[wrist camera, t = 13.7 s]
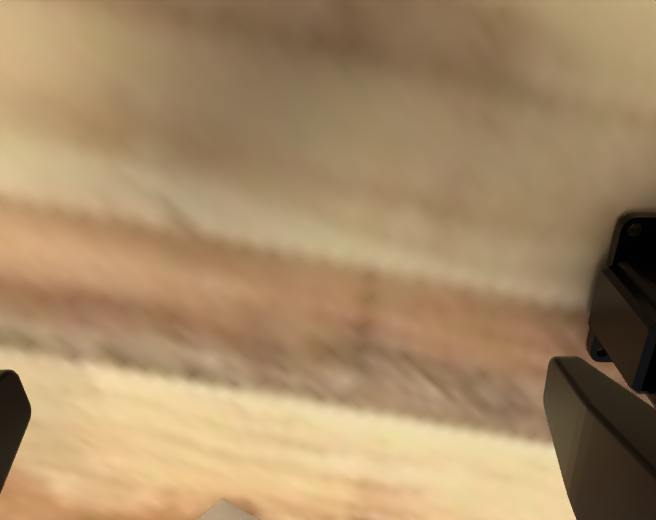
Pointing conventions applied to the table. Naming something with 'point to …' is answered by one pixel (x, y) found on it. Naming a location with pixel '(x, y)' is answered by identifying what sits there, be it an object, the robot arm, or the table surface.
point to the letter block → (226, 512)
